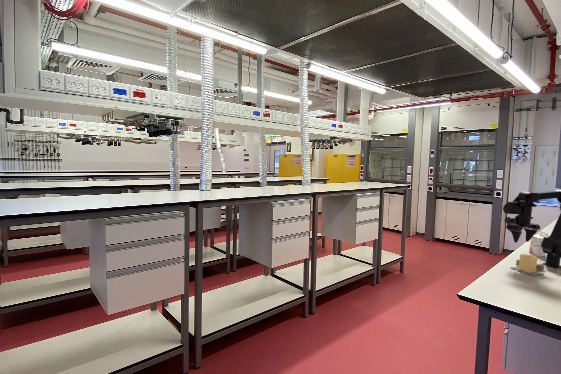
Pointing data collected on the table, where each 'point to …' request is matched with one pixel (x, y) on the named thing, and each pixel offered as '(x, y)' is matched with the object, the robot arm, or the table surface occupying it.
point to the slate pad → (527, 272)
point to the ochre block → (527, 263)
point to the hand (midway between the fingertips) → (521, 242)
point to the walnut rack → (538, 266)
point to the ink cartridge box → (537, 244)
